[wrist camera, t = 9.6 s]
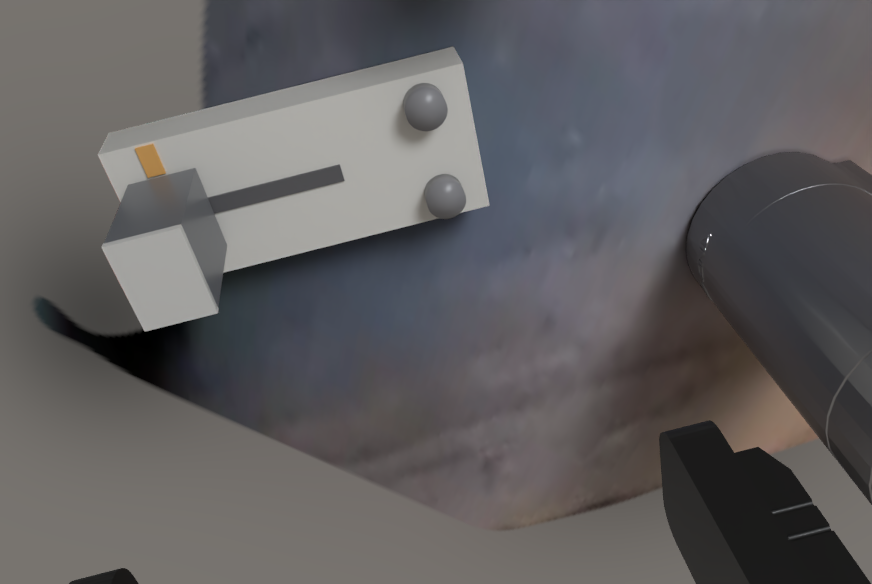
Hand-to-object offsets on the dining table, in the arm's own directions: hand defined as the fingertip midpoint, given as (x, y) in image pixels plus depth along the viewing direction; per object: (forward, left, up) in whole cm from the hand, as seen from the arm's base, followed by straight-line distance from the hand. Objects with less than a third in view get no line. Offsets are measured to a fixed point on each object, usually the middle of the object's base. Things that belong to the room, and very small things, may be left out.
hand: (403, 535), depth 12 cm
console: (+3, +5, -28) cm, 29 cm away
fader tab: (+9, +6, -25) cm, 27 cm away
